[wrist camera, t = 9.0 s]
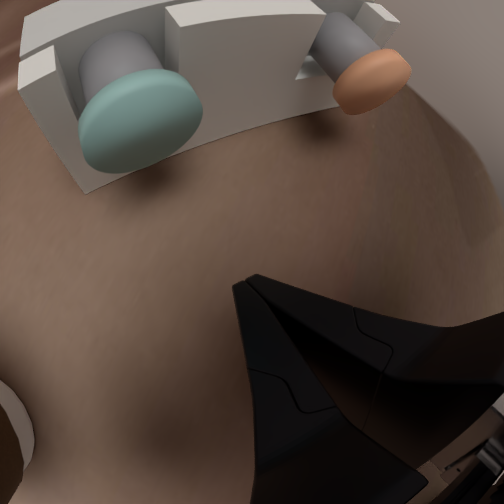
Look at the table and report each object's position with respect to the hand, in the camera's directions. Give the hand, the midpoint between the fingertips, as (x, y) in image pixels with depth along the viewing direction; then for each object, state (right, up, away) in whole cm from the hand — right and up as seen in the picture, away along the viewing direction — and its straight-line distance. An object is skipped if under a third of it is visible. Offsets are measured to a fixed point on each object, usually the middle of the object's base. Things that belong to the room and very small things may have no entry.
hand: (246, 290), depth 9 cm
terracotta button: (+5, +12, +7) cm, 14 cm away
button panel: (-3, +12, +10) cm, 16 cm away
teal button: (-5, +7, +3) cm, 10 cm away
